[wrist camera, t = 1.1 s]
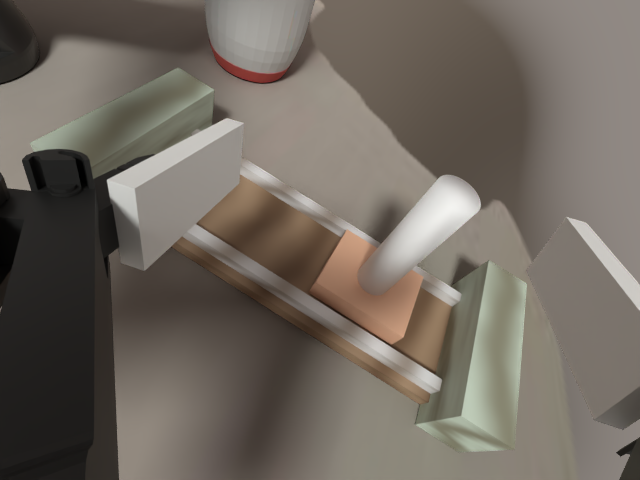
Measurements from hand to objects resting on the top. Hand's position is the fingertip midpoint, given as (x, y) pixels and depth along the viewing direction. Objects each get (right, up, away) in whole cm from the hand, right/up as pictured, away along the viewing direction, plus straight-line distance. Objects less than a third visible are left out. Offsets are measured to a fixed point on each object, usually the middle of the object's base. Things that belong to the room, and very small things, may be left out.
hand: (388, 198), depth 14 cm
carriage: (+2, -7, +23) cm, 24 cm away
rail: (-5, -4, +25) cm, 26 cm away
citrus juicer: (-15, +28, +43) cm, 53 cm away
